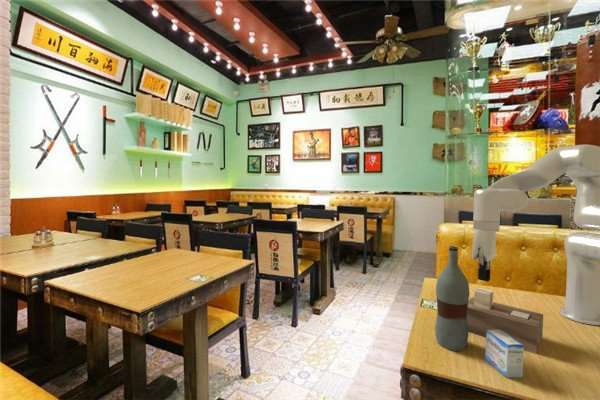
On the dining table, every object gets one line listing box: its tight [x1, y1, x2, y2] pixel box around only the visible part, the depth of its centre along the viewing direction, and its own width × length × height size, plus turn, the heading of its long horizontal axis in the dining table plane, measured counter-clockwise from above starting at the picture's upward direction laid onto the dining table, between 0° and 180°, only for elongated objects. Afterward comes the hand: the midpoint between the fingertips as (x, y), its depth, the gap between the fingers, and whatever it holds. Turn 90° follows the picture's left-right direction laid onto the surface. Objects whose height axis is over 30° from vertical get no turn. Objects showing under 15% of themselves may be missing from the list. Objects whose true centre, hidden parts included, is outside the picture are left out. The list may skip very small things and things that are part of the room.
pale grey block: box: [510, 310, 530, 320], centre depth 92 cm, size 4×4×8 cm
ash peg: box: [474, 287, 494, 310], centre depth 99 cm, size 4×4×8 cm
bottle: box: [434, 245, 470, 352], centre depth 89 cm, size 9×9×30 cm
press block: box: [467, 296, 544, 354], centre depth 96 cm, size 12×20×8 cm, turn 44°
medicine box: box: [484, 330, 525, 379], centre depth 78 cm, size 8×4×9 cm, turn 4°
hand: (484, 280), depth 99 cm, fingers closed
